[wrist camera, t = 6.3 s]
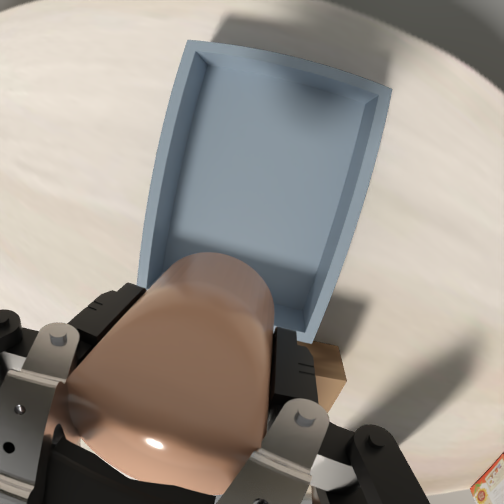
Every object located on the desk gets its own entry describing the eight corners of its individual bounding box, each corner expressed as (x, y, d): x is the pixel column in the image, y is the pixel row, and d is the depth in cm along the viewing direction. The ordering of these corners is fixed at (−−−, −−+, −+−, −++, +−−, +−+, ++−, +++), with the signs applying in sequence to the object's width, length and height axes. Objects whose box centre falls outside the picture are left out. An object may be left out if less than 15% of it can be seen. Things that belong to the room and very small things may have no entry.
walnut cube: (337, 345, 26) (346, 381, 21) (318, 384, 27) (322, 420, 23) (286, 334, 26) (286, 369, 21) (270, 374, 27) (267, 411, 23)
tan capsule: (290, 271, 11) (297, 412, 5) (256, 370, 13) (237, 507, 6) (164, 237, 11) (47, 329, 5) (151, 339, 13) (78, 453, 6)
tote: (374, 99, 19) (392, 89, 15) (308, 317, 25) (311, 343, 21) (202, 57, 19) (187, 39, 16) (155, 275, 25) (136, 294, 21)
